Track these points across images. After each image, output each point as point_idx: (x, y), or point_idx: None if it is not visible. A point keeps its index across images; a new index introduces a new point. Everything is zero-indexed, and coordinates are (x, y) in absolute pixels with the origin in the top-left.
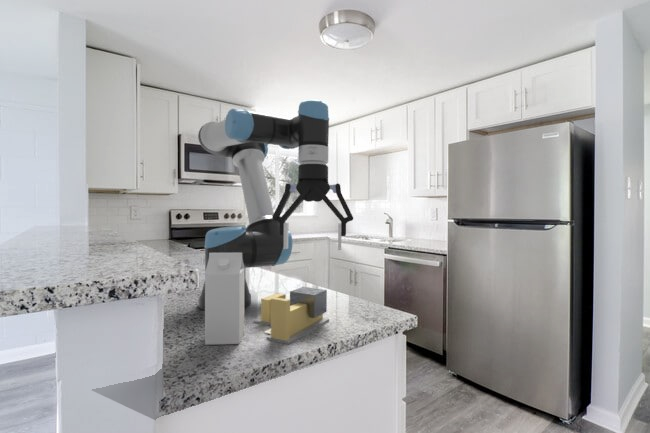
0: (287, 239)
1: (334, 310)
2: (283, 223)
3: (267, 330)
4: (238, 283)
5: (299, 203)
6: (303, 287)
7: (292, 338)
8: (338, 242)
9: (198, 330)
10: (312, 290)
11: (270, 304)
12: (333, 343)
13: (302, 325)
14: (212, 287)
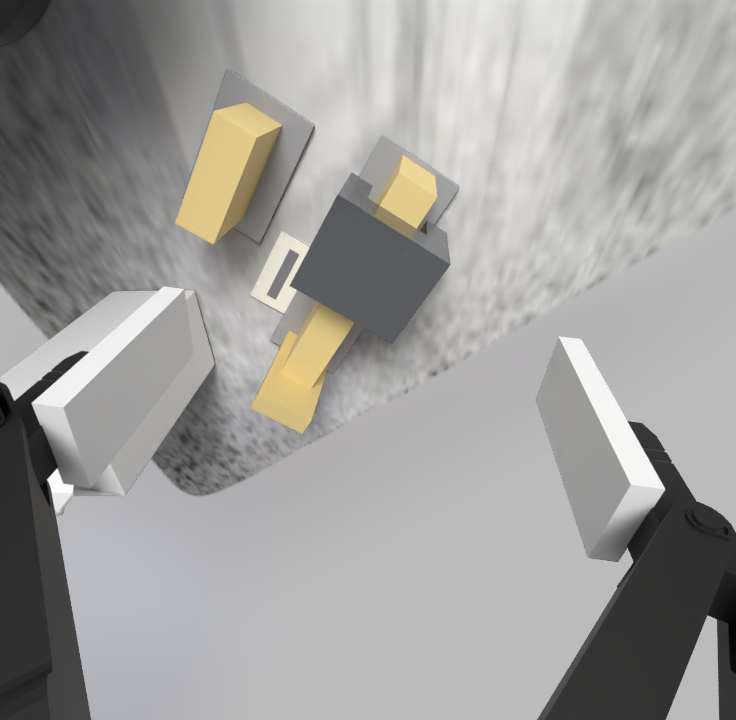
0: (159, 359)
1: (511, 12)
2: (54, 463)
3: (257, 283)
4: (139, 471)
5: (83, 715)
6: (341, 209)
7: (338, 353)
8: (549, 433)
9: (58, 264)
10: (384, 272)
11: (223, 230)
12: (444, 370)
13: None
14: None
